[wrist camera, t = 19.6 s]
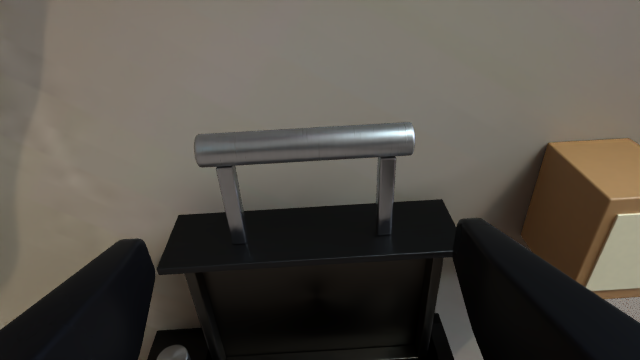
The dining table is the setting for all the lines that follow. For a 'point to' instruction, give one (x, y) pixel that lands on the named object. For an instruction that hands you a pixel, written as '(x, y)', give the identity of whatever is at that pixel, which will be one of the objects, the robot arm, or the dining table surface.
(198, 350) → the toaster oven
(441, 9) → the dining table surface
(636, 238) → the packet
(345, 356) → the tray
